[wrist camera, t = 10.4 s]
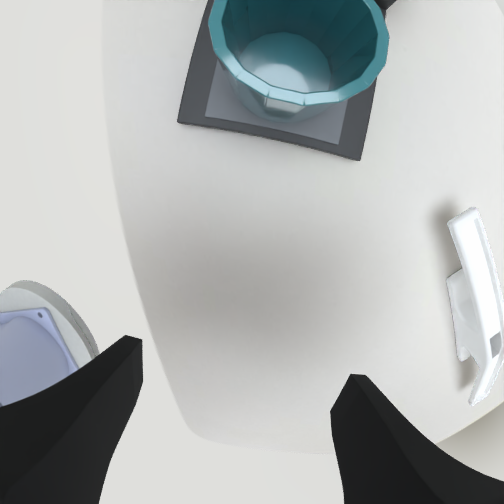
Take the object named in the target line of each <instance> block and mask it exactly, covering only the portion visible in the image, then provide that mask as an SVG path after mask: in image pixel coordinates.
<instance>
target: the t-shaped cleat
mask: <svg viewBox="0 0 504 504" xmlns="http://www.w3.org/2000/svg"><path fill="white" fill-rule="evenodd" d="M447 225H448V228H449V230H450V233H451V236H452V238H453V241H454V244H455V247H456V250H457V253H458V256H459V259H460V262H461V265H462V269H460V270H459V271H457V272H456V273H454V274H453V275H451V276H450V277H448V278H447V280H446V282H447V287H448V292H449V297H450V303H451V309H452V316H453V323H454V330H455V338H456V348H457V357H458V358H459V360H460V361H462V362H463V361H464V360H466V359H467V358H469V357H470V356H472V357H473V358H474V360H475V361H476V363H477V365H478V366H479V371H478V374H477V377H476V380H475V383H474V386H473V389H472V392H471V394H470V397H469V400H468V402H469V404H470V406H474V405H475V404H476V403H478V402H479V401H481V400H482V399H484V398H485V397H486V396H488V394H489V392H490V390H491V388H492V386H493V384H494V382H495V380H496V378H497V376H498V373H499V371H500V369H501V367H502V364H503V362H504V301H503V296H502V291H501V286H500V282H499V278H498V273H497V269H496V265H495V261H494V258H493V254H492V251H491V247H490V244H489V240H488V237H487V234H486V231H485V228H484V225H483V222H482V219H481V216H480V213H479V211H478V209H477V208H476V207H471V208H469V209H467V210H466V211H464V212H462V213H461V214H459V215H458V216H456V217H454V218H453V219H451V220H449V221H448V223H447Z"/></svg>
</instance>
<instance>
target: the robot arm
mask: <svg viewBox="0 0 504 504" xmlns="http://www.w3.org/2000/svg"><path fill="white" fill-rule="evenodd" d="M142 383H143V362H142V339H139V338H135V337H131V336H127V335H125V336H123V337H122V338H121V339H119V340H118V341H117V342H115V343H114V344H113V345H111V346H110V347H109V348H107V349H106V350H105V351H103V352H102V353H101V354H99V355H98V356H97V357H95V358H94V359H92V360H91V361H90V362H88V363H87V364H85V365H84V366H83V367H81V368H80V369H79V367H78V365H77V364H76V362H75V360H74V358H73V356H72V355H71V353H70V351H69V349H68V347H67V345H66V344H65V342H64V340H63V338H62V336H61V334H60V332H59V330H58V328H57V326H56V324H55V322H54V319H53V317H52V315H51V313H50V311H49V310H48V309H47V308H46V307H40V308H32V309H24V310H15V311H6V312H0V504H99V500H100V496H101V492H102V488H103V484H104V481H105V477H106V474H107V470H108V467H109V463H110V461H111V458H112V455H113V453H114V451H115V448H116V446H117V444H118V442H119V440H120V438H121V435H122V433H123V431H124V429H125V427H126V424H127V422H128V420H129V418H130V416H131V414H132V412H133V409H134V407H135V405H136V402H137V399H138V396H139V392H140V390H141V386H142ZM330 414H331V429H332V437H333V442H334V447H335V452H336V456H337V461H338V466H339V470H340V475H341V480H342V485H343V492H344V504H504V481H500V480H498V479H495V478H492V477H489V476H487V475H484V474H482V473H480V472H478V471H476V470H474V469H472V468H470V467H468V466H466V465H464V464H462V463H461V462H459V461H458V460H456V459H454V458H453V457H451V456H450V455H448V454H447V453H445V452H444V451H443V450H441V449H440V448H438V447H437V446H436V445H435V444H434V443H432V442H431V441H430V440H429V439H427V438H426V437H425V436H424V435H423V434H422V433H421V432H420V431H418V430H417V429H416V428H415V427H414V426H413V425H412V424H411V423H410V422H409V421H408V420H407V419H406V418H405V417H404V416H403V415H402V414H401V413H400V412H399V411H398V409H397V408H396V407H395V406H394V405H393V404H392V403H391V402H390V401H389V400H388V399H387V397H386V396H385V395H384V394H383V393H382V392H381V391H380V390H379V389H378V388H377V386H376V385H375V384H374V383H373V382H372V381H371V380H370V379H369V378H368V377H367V376H366V375H358V374H350V376H349V378H348V380H347V382H346V384H345V385H344V387H343V389H342V391H341V393H340V395H339V396H338V398H337V400H336V402H335V404H334V405H333V407H332V409H331V411H330Z"/></svg>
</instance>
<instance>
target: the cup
mask: <svg viewBox="0 0 504 504" xmlns="http://www.w3.org/2000/svg"><path fill="white" fill-rule="evenodd" d="M208 26H209V31H210V35H211V40H212V45H213V50H214V52H215V54H216V56H217V59H218V61H219V63H220V65H221V67H222V69H223V71H224V74H225V76H226V78H227V80H228V82H229V84H230V87H231V89H232V91H233V93H234V94H235V95H236V97H237V98H238V100H239V101H240V103H241V104H242V105H243V106H244V107H245V108H246V109H247V110H248V111H250V112H251V113H252V114H254V115H256V116H258V117H259V118H262V119H264V120H267V121H270V122H275V123H283V124H284V123H285V124H288V123H296V122H301V121H305V120H308V119H310V118H312V117H314V116H316V115H317V114H319V113H321V112H323V111H325V110H327V109H329V108H331V107H333V106H335V105H337V104H339V103H341V102H343V101H344V100H346V99H348V98H350V97H352V96H354V95H356V94H358V93H359V92H361V91H363V90H365V89H367V88H368V87H370V85H371V84H372V83H373V81H374V80H375V78H376V77H377V76H378V74H379V73H380V71H381V70H382V69H383V67H384V66H385V63H386V59H387V52H388V44H389V33H388V30H387V27H386V24H385V21H384V18H383V15H382V12H381V9H380V7H379V6H378V5H377V4H376V2H375V1H374V0H214V3H213V7H212V10H211V13H210V16H209V20H208Z"/></svg>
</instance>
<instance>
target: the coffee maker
mask: <svg viewBox="0 0 504 504" xmlns="http://www.w3.org/2000/svg"><path fill="white" fill-rule="evenodd" d="M374 1H375V2H376V4H377V5H378V6H379V7H380V9H381V12H382V15H383V18H384V21H385V15H386V10H387V9H388V8H389V7H390V6H391V5H392V4H393V3H394V2H395V1H396V0H374ZM213 3H214V0H208V2H207V5H206V8H205V11H204V15H203V18H202V21H201V25H200V28H199V32H198V35H197V39H196V42H195V46H194V50H193V54H192V57H191V61H190V65H189V69H188V73H187V78H186V82H185V86H184V91H183V95H182V100H181V104H180V109H179V114H178V119H177V122H178V123H181V124H187V125H194V126H201V127H208V128H214V129H221V130H226V131H232V132H238V133H243V134H249V135H254V136H259V137H264V138H268V139H273V140H278V141H282V142H287V143H291V144H295V145H299V146H303V147H307V148H311V149H315V150H319V151H323V152H327V153H330V154H334V155H338V156H341V157H345V158H348V159H352V160H356V161H360V160H361V155H362V151H363V146H364V142H365V137H366V133H367V128H368V123H369V118H370V113H371V108H372V103H373V97H374V92H375V86H376V80H377V77H376V78H375V80H374V81H373V83H372V84H371V85H370V87H368V88H367V89H365V90H363V91H361V92H359V93H358V94H356V95H354V96H352V97H350V98H348V99H346V100H344V101H343V102H341V103H339V104H337V105H335V106H333V107H331V108H329V109H327V110H325V111H323V112H321V113H319V114H317V115H316V116H314V117H312V118H310V119H308V120H305V121H301V122H296V123H288V124H285V123H284V124H283V123H275V122H270V121H267V120H264V119H262V118H259V117H258V116H256V115H254V114H252V113H251V112H250V111H248V110H247V109H246V108H245V107H244V106H243V105H242V104H241V103H240V101H239V100H238V98H237V97H236V95H235V94H234V93H233V91H232V89H231V87H230V84H229V82H228V80H227V78H226V76H225V74H224V71H223V69H222V67H221V65H220V63H219V61H218V59H217V56H216V54H215V52H214V50H213V45H212V40H211V35H210V31H209V26H208V20H209V16H210V13H211V10H212V7H213Z"/></svg>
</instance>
